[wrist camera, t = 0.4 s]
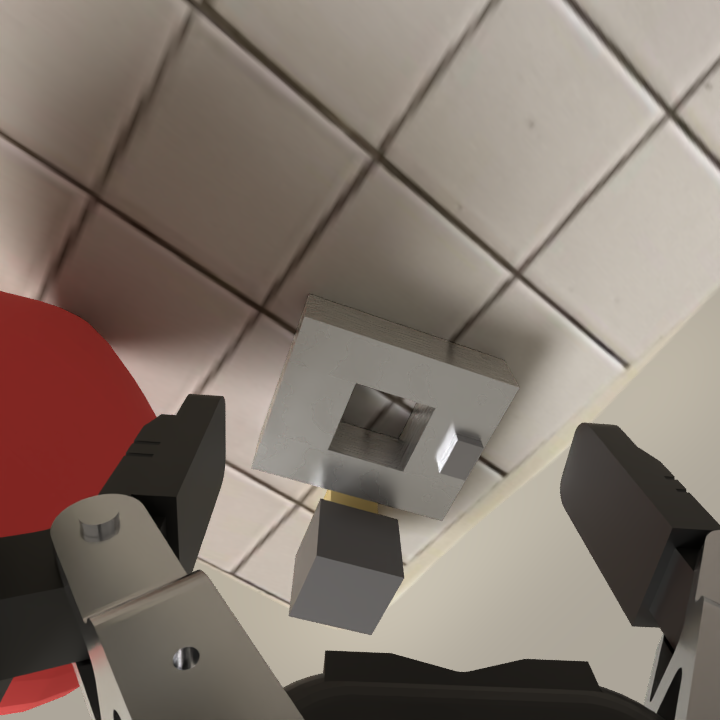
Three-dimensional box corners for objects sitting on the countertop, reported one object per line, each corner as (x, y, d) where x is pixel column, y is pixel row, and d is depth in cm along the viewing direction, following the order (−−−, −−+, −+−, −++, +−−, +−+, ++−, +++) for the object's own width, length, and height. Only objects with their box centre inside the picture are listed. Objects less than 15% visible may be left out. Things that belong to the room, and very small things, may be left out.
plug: (322, 466, 35) (316, 555, 28) (394, 487, 36) (404, 577, 29) (299, 521, 37) (288, 615, 31) (367, 539, 38) (371, 635, 31)
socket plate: (308, 293, 30) (303, 321, 26) (504, 360, 32) (523, 394, 28) (259, 435, 34) (249, 476, 30) (434, 486, 36) (444, 529, 32)
